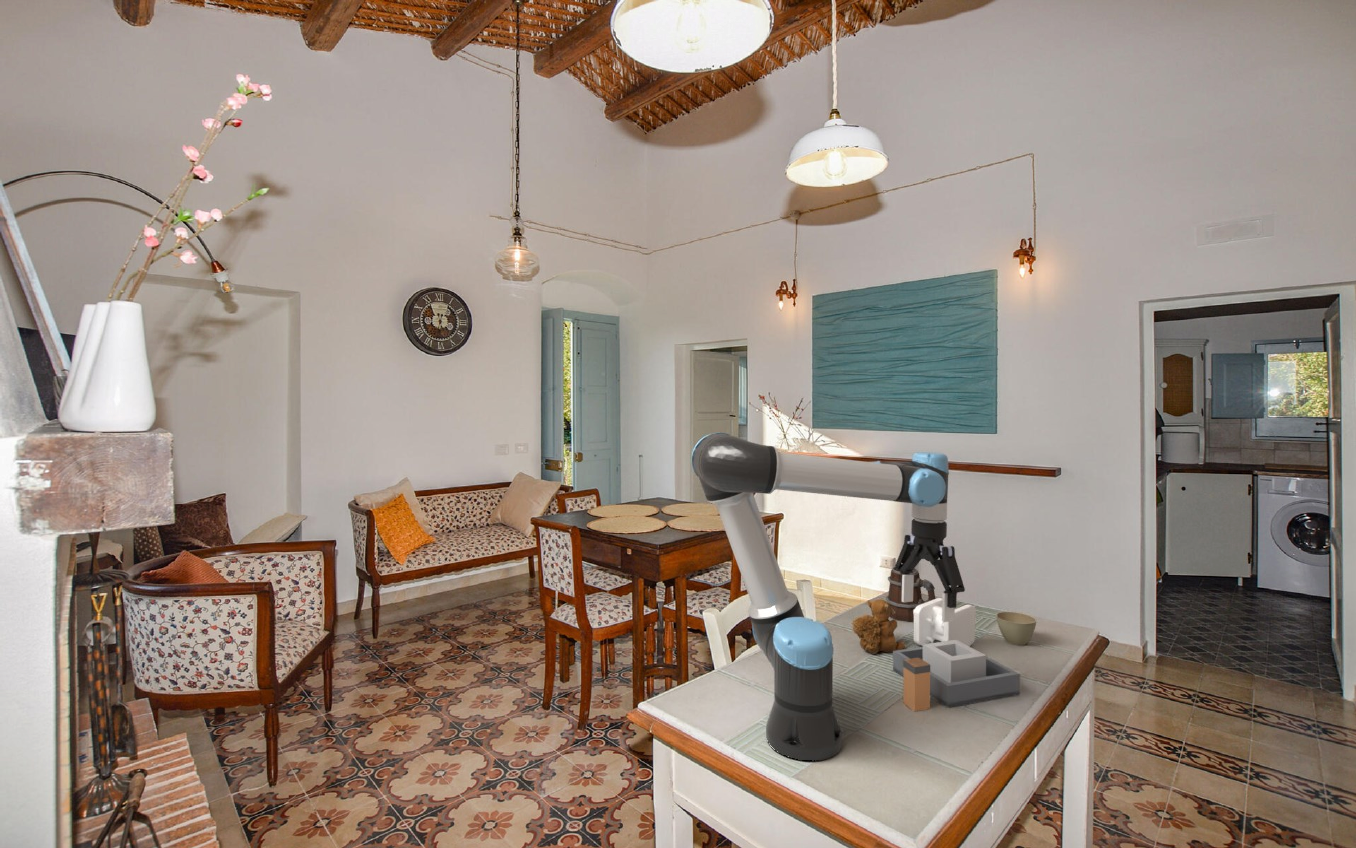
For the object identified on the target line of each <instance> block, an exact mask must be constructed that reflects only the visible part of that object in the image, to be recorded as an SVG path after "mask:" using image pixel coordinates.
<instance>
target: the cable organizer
mask: <svg viewBox="0 0 1356 848" xmlns="http://www.w3.org/2000/svg"><path fill="white" fill-rule="evenodd" d="M942 598H943V597H937V598H935V599H934V600H931V601H929V602H926V603H923V604H921V605H918V606H917V607H916V608H915V610H913V614H914V621H913V642H914V644H917V645H919V646H921V647H923V644H930V643H934V641H938V642H944V641H951V640H958V641H959V642H961V643H963V644H965V645H967V646H969V647H971V645H973V644H974V642H975V640H976V607H975V606H974V605H971V604H965V605H962V606H959V607H956V608H955V615H954V621H949V622H943V621H942Z"/></svg>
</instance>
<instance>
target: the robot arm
mask: <svg viewBox="0 0 1356 848" xmlns="http://www.w3.org/2000/svg"><path fill="white" fill-rule="evenodd" d="M691 467H692V471H693V473H695V475H696V476H697V477H698V479H699V482H700V484H701V488H702V490H703V493H704V496H705V498H706V501H707V502H708V503H710V504H712V505H714V506H716V508H717V511H718V515H719V518H720V519H721V523H722V525H723V527H724V531H725V533H726V536H727V539H728V541H729V545H730V547H731V550H732V553H733V555H734V558H735V560H736V561H735V562H736V564H737V567H738V569H739V572H740V575H741V578H742V581H743V583H744V585H745V588H746V592H747V594H748V597H749V599H750V602H751V603H750V605H749V607H748V609H747V613H748V616H749V619H750V622H751V625H752V626H751V628H752V636H753V638H754V640H755V643H756V644H757V646H758V648H760V650H761V651H762V652H763V654H764V656H765V657H766V659H767V660H768V662H769V663H770V664H771V666H772V668H773V674H774V675H773V679H774V681H773V683H774V688H773V689H774V695H773V696H774V701H773V704H772V706H771V710H770V712H769V716H768V719H767V721H766V726H765V739H766V738H767V740H768V742H769V743H770V745H771V746H772V747H773V748H774V749H775V750H776V751H778V752H779V753H781V754H782V756H783V755H786V756H789V757H791V758H790V759H792V758H795V759H794V760H796V759H798V760H797V761H802V760H812V761H811V762H817V761H816V760H819V761H824V760H828V759H830V758H832V757H834V756H836V755H837V754H838V753H839V752H840V751H841V749H842V746H843V745H842V743H843V742H842V741H843V739H842V734H843V733H842V729H841V727H840V723H839V721H838V718H837V715H836V712H835V709H834V705H833V695H834V693H833V692H834V691H833V689H834V688H833V687H834V686H833V685H834V684H833V683H834V682H833V680H834V679H833V675H834V674H833V673H834V671H833V670H834V668H833V667H834V665H833V663H834V662H833V659H834V658H833V657H834V644H833V638H832V634H831V632H830V629H828V627H826V625H824V624H823V623H821V622H820V621H818V620H813V619H812V618H808V617H805V615H804V613H803V610H802V607H801V605H800V601H799V599H798V598H799V597H798V596H797V595H796V593H794V592H792V591H789V590H788V588H787V585H786V581H785V579H784V577H783V574H782V571H781V568H780V565H779V563H778V559H777V557H776V554H775V552H774V548H773V545H772V543H771V540H770V538H769V537H770V536H769V534H768V531H767V529H766V526H765V524H764V520H763V518H762V515H761V511H760V510H759V507H758V505H757V502H756V501H757V500H756V498H755V496H754V493H755V494H765V495H766V494H768V495H770V494H772V493H773V492H774V491H775V490H778V491H789V492H799V493H810V494H820V495H829V496H837V497H838V496H839V497H849V498H857V499H858V498H859V499H868V500H869V499H870V500H877V501H878V500H879V501H880V500H881V501H887V502H888V501H890V502H897V503H906V504H911V517H912V519H911V529H910V530H911V532H910V533H911V534H905V535H904V539H903V540H904V541H903V545H902V547H901V550H900V553H899V555H898V557H897V560H896V563H895V565H894V567H895V568H896V569H898V570H899V571H900V573H901V586H902V602H913V583H914V575H913V574H909V573H913V569H914V568H916V567H917V565H918V564H919V563H920V562H921V561H922V560H925V561H927V562H929V563H930V565H932V566H933V567H934V569H935V571H936V573H937V576H938V578H939V580H940V582H941V583H942V586H943V588H944V591H942V597H941V598H942V621H943V622H949V621H954V615H955V609H956V608H957V600H958V599H957V597H958V596H957V595H958V593H964V592H965V591H966V588H965V585H964V582H963V578H962V574H961V572H960V568H959V566H958V562H957V559H956V558H957V557H956V549H955V546H953V545H949V546H945V545H944V540H945V539H946V538H947V537H948V536H947V534H948V532H947V531H948V530H947V529H948V523H947V522H946V520H947V519H948V517H947V516H948V497H949V496H948V493H949V476H950V471H949V459H948V456H947V455H946V454H944V453H941V452H932V451H931V452H930V451H926V452H925V451H921V452H920V451H919V452H915V453H914V454H913V457H912V460H911V461H910V460H909V461H886V460H885V461H881V460H877V461H864V460H863V461H861V460H853V459H846V458H845V459H843V458H836V457H835V458H834V457H827V456H826V457H825V456H819V455H817V456H816V455H809V454H800V453H799V454H798V453H791V452H782V451H779V450H778V448H776V447H775V446H772V445H765V444H759V443H755V442H752V441H749V440H745V439H742V438H740V437H738V436H734V435H731V434H729V433H726V432H721V431H720V432H715V433H714V432H713V433H710V434H707V435H705V436H703V437H702V438H701V439H699V440H698V442H697V443H696V444H695V445H694V448H693V450H692V452H691ZM767 740H766V741H767ZM768 742H767V743H768ZM770 745H769V746H770ZM774 749H773V750H774ZM775 750H774V751H775ZM776 751H775V752H776ZM778 752H777V753H778ZM779 753H778V754H779ZM781 754H780V755H781ZM786 756H785V757H786ZM789 757H788V758H789ZM814 760H815V761H814Z"/></svg>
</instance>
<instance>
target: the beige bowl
mask: <svg viewBox="0 0 1356 848" xmlns="http://www.w3.org/2000/svg"><path fill="white" fill-rule="evenodd" d="M995 616H996V622H997V625H998V626H997V627H998V629H999V630H1000V633H1001V636H1002V637H1003V638H1004V640H1005V642H1006V643H1008V644H1011V645H1014V646H1025V645H1027V644H1028V642H1030V640H1031V638H1032V636H1033V634H1034V632H1035V629H1036V625H1037V619H1036V618H1035V617H1034V616H1032V615H1030V614H1027V613H1023V612H1016V611H1000V612H999V611H998V612H997V613H996V615H995Z"/></svg>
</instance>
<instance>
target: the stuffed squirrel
mask: <svg viewBox="0 0 1356 848" xmlns="http://www.w3.org/2000/svg"><path fill="white" fill-rule="evenodd" d="M866 604H867V606H868V607H869V609H871V615H870V614H864V615H862V616H858V617H855V618H854V620H852V622H851V623H850V624H851V625H852V626H851V628H852V631H853V633H854V634H856V635H857V637H858V638H859V640H860V641H859V645H860V648H862V649H863V651H865V652H867V653H870V654H873V655H877V654H878V652H883V653H893V651H897V650H904V649H907V648H906V643H904V642H903V641H896V636H895V634H894V632H895V630H896V629H897V627H898V620H895V619H893V618H892V619H891V620H890V619H889V618H890V617H889V616H890V609H891V611H892V610H893V609H892V608H891V607H890V606H889V604H888V603H887V600H885V599H875V600H873V601H871V600H866ZM893 611H894V610H893ZM893 611H892V613H893ZM894 613H895V612H894ZM894 613H893V614H894Z"/></svg>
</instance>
